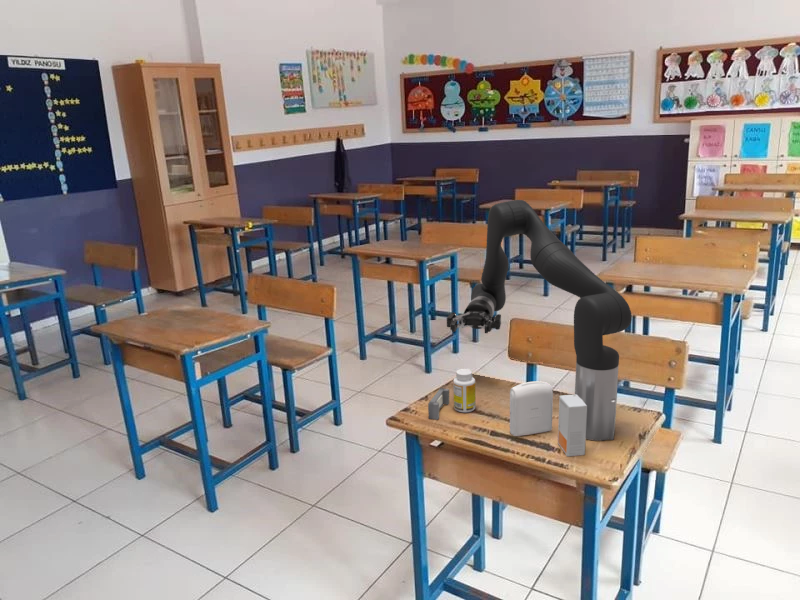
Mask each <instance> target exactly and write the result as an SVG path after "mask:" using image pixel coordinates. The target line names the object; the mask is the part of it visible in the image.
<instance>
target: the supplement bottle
mask: <svg viewBox="0 0 800 600" xmlns="http://www.w3.org/2000/svg"><path fill="white" fill-rule="evenodd" d="M455 372H456V375H455V376H456V377H454V378H453V386H452V387H453V388H452V389H453V408H454V410H455V411H457V412H459V413H472V412H473V411H474V410H475V409H476V407H477V406H476V405H477V404H476V379H475V378H474V377H473V372H472V370H471V369H468V368H461V369H460V368H459V369H457V370H456V371H455Z"/></svg>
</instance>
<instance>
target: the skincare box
mask: <svg viewBox="0 0 800 600" xmlns="http://www.w3.org/2000/svg"><path fill="white" fill-rule="evenodd" d="M558 403H559V404H558V422H557V423H558V425H557V426H558V427H557V428H558V430H557V444H558V445H559V447H560V448H561V449H562V451H563V452H564V454H565V456H566V457H577V456H585V455H586V440H587V439H586V418H587V405H586V404H585V403H584V402H583V400H582V399H581V398H580V397H579V396H578V395H577V394H575V393H574V394H566V395H559V402H558Z"/></svg>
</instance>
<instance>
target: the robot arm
mask: <svg viewBox="0 0 800 600" xmlns="http://www.w3.org/2000/svg"><path fill="white" fill-rule="evenodd" d="M486 229H487V230H486V252H485V253H486V254H485V261H484V266H483V270H482V273H481V279H480V280H481V283H477V284H476V285H475V286H474V287H473V289H472V291H471V294H470V302H469V303H468V305H467V306H466V308H465V309H464V312H463V313H461V314H459V315H457V313H456V312H450V314H449V315H448V316H447V317H446V327H447V328H450V329H449V330H450V331H452V332H454V333H455V332H456V331H457V330H458V328H461V329H465V328H469V327H470V328H472V329H475V330H481V329H483V330H484V334H489V333H490V332H491V331H492V330H493V329H495V330H500V329H501V325H502V314H496V315H494V313H495V312H498V311H500V310H502V309H503V308H504V307H505V305H506V299H507V296H506V295H507V294H506V289H505V288H506V287H505V283H506V279H507V274H508V271H509V263H510V262H509V260H508V256H507V255H506V253H505V250H503V248H502V242H503V239H504V238H506V237H512V236H515V235H524V236H525V237H527V238H528V239H529V240H530V242H531V244H530V255H529V256H530V262H531V264H532V266H533V268H534V269H535V270H536V271H537V272H538V273H539V274H540V275H541V277H542V278H543V279H544V280H546V282H547V283H549V284H551V286H552V285H553V286H554V287H555V288H558V289H560V290H562V291H565V292H566V293H569V294H572V295H574V296H576V297H578V298H579V299H578V300H577V301H576V303H575V306H574V311H573V347H574V352H575V355H576V356H575V358H576V359H575V360H576V361H575V377H574V378H575V381H574V382H575V384H574V395H575V394H577V395H578V396H579V397H580V398H581V399H582V400H583V402H584V403H585V404H586V405H587V418H586V440H590V441H606V440H614V439H615V438H614V437H615V431H616V417H617V416H616V415H617V402H618V380H619V365H620V363H619V362H620V355H619V352H618V351H617V350H616V349H614V348H613V347H611V346H607V345H604V341H603V340H604V338H603V337H604V336H607V335H613V334H616V333H621V332H623V331H625V330H627V329H628V328H629V327H630V325H631V323H632V317H633V316H632V311H631V308H630V306H629V303H628V302H627V301H626V299H625V298H624V296H622V295H621V294H620V293H619V292H618V291H617V290H615V289H614V288H613V287H611V286H610V285H609V284H608V283H606V282H605V281H604V280H603V279H601V278H600V277H598V275H596V274H595V273H594V272H593V271H591V269H590V268H589V267H588V266H587V265H585V263H584V262H583V261H581V260H580V259H579V258H578V257H577V256H576V254H574V252H573V251H572V250H571V249H570V248H569V247H568V246H567V245H566V244H564V242H562V241H561V240H560V239H559V238H558V237H557V236H556V235H555V234H554V233H553V232H552V231H551V229H550V228H549V227H548V226H547V225H546V224H545V223H544V222H543V220H542V219H541V217H539V215H538V214H537V212H536V211H535V210H534V209H533V207H532V206H531V205H530V204H529V203H528V202H527V201H526V200H524V199H523V200H522V199H514V200H509V201H504V202H499V203H495V204H494V205H492V206H491V208H490V209H489V212H488V216H487V228H486Z"/></svg>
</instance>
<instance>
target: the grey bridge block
mask: <svg viewBox="0 0 800 600" xmlns="http://www.w3.org/2000/svg"><path fill="white" fill-rule="evenodd" d="M443 404H447V405H446V406H448V404H450V388H442V387H439V389H438V391H437V392H436V394H434V396H433V397H432V398H431V399H430V401H429V402H428V404H427V405H428V406H427V407H428V410H427V411H428V412H427V413H428V415H427V416H428V419H431V420H437V421H438V420H439V419H440V410H441V409H442V408H441V407H444V405H443ZM440 408H441V409H440Z"/></svg>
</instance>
